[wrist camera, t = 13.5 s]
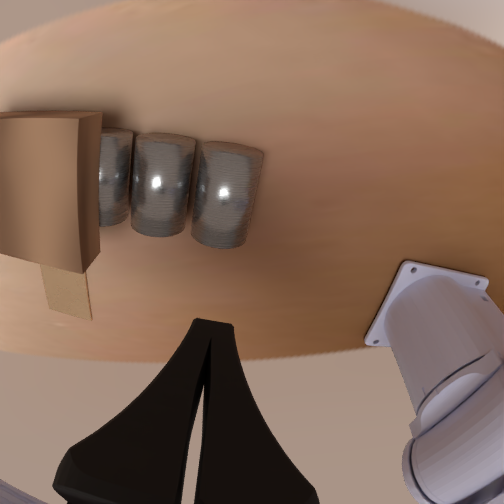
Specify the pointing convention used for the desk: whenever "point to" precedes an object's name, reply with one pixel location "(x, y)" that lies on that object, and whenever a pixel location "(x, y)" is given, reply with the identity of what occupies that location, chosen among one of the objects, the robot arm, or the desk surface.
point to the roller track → (165, 198)
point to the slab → (50, 187)
